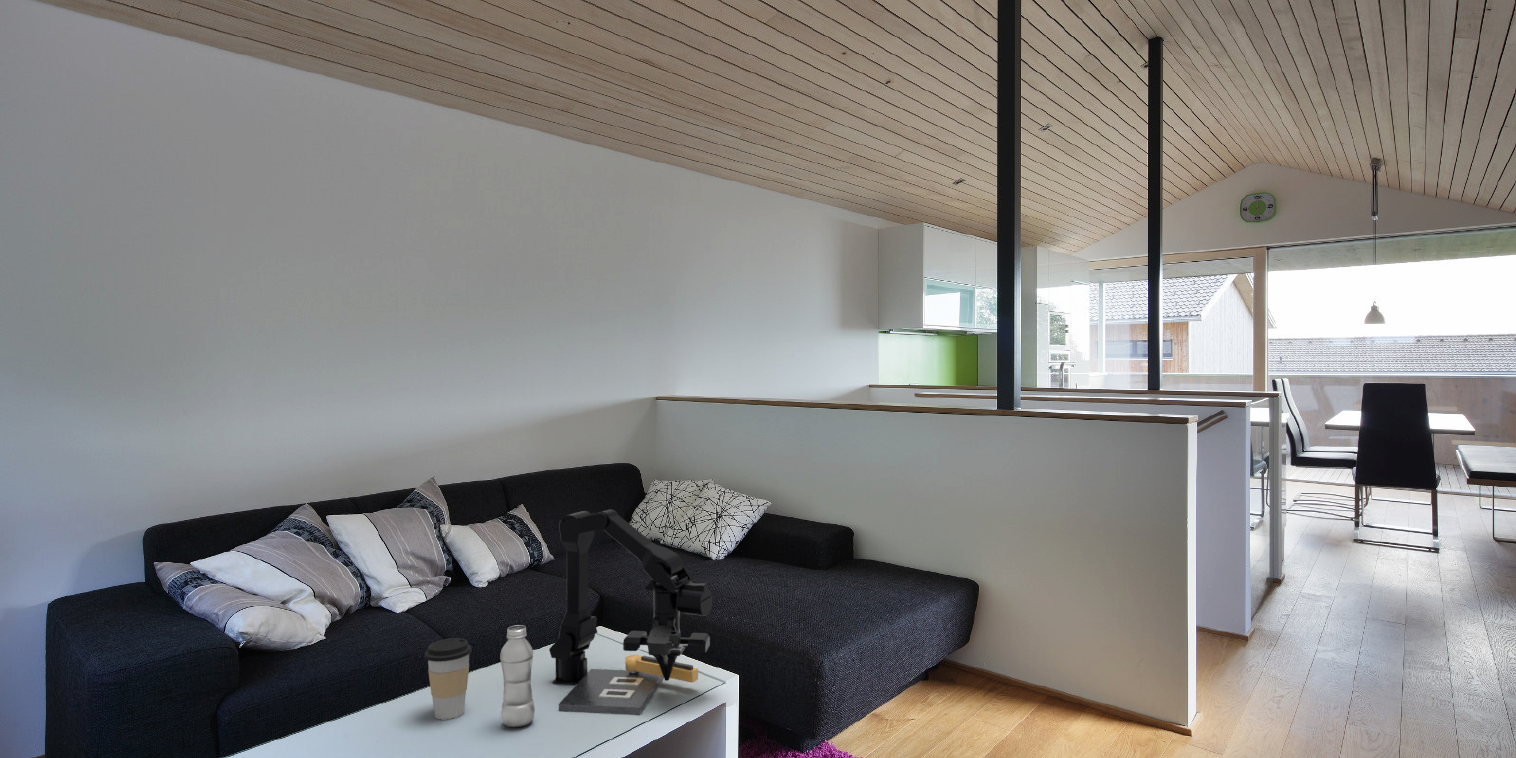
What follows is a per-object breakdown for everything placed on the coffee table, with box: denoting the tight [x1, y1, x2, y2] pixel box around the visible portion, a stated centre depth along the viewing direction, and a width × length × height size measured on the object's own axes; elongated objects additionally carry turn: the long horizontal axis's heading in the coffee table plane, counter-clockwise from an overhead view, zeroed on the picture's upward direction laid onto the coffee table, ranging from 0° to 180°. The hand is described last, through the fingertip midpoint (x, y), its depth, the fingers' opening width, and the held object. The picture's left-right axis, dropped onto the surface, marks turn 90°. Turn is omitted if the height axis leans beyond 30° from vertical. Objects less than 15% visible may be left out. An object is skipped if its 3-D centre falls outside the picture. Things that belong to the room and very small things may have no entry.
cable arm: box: [624, 654, 699, 684], centre depth 179 cm, size 4×19×3 cm, turn 62°
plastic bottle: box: [499, 624, 536, 728], centre depth 159 cm, size 6×7×20 cm
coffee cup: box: [423, 637, 473, 721], centre depth 164 cm, size 9×9×15 cm
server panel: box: [558, 668, 665, 716], centre depth 174 cm, size 18×20×2 cm
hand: (667, 679), depth 172 cm, fingers closed
